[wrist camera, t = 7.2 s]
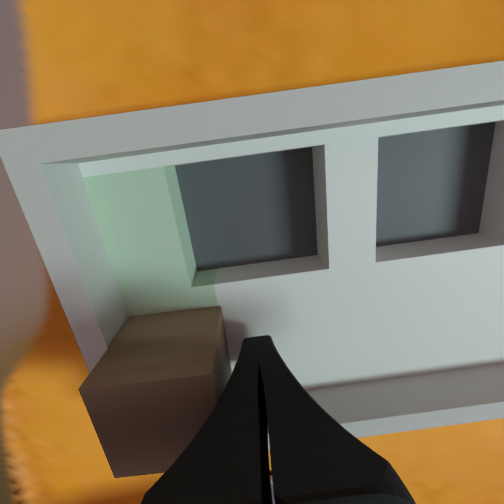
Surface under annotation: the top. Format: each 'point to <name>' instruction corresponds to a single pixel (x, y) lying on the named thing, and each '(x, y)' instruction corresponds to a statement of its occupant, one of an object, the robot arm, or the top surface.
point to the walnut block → (157, 387)
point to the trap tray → (295, 234)
